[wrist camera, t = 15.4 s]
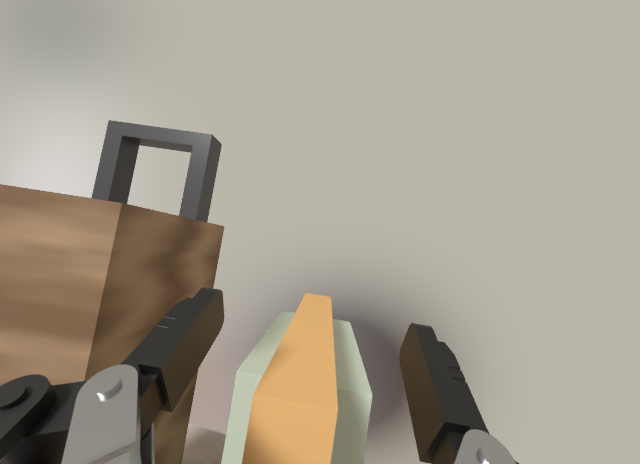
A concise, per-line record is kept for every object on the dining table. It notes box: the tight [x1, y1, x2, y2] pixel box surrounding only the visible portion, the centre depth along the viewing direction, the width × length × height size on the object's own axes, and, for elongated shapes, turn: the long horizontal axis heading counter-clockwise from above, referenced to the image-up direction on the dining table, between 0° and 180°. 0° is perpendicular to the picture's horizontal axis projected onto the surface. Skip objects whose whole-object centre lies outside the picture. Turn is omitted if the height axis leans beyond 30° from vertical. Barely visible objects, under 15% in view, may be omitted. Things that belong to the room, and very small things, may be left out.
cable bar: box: [242, 293, 338, 464], centre depth 22 cm, size 24×4×4 cm, turn 178°
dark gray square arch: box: [92, 121, 221, 222], centre depth 23 cm, size 2×10×8 cm, turn 88°
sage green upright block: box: [221, 311, 372, 464], centre depth 26 cm, size 18×10×22 cm, turn 178°
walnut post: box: [0, 184, 224, 464], centre depth 17 cm, size 12×12×32 cm
